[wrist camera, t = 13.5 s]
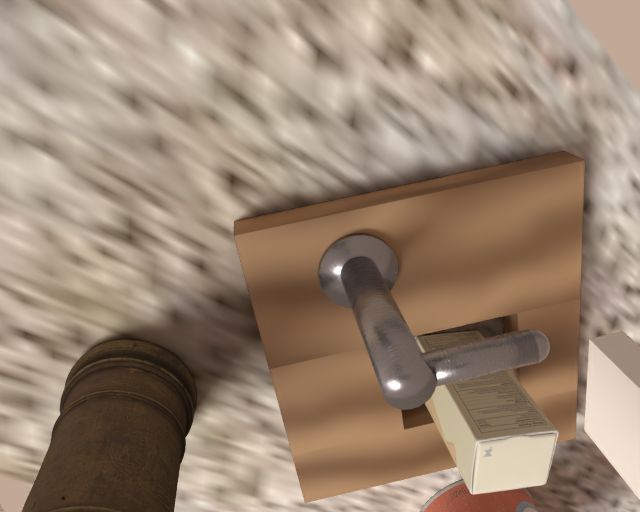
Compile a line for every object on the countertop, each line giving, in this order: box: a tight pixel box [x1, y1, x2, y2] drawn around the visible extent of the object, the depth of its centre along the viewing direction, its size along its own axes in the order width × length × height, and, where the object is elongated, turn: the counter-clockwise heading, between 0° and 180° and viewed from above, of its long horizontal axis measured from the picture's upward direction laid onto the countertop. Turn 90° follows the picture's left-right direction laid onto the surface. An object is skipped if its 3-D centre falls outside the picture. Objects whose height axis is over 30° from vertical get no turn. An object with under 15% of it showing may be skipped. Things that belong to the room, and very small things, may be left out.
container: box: [22, 340, 197, 512], centre depth 31 cm, size 9×9×18 cm
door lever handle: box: [318, 233, 550, 410], centre depth 30 cm, size 5×9×12 cm, turn 100°
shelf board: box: [234, 151, 585, 503], centre depth 40 cm, size 23×22×2 cm
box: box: [416, 331, 559, 495], centre depth 37 cm, size 5×4×11 cm
